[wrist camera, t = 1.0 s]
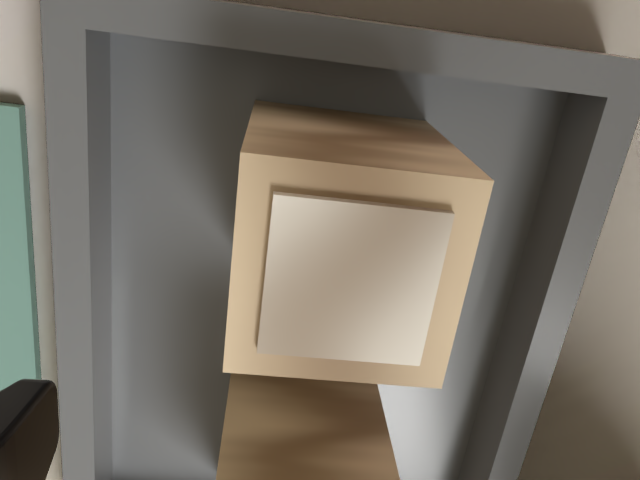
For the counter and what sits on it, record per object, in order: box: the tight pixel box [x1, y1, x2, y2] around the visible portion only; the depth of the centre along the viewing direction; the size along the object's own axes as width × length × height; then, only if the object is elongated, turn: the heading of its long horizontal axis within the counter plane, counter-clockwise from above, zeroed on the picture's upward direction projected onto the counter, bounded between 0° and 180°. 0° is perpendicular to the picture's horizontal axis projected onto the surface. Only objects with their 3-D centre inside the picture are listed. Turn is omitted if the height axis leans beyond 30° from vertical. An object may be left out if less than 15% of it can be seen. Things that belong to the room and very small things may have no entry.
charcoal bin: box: [40, 0, 640, 480], centre depth 19 cm, size 15×19×2 cm
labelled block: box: [223, 100, 494, 389], centre depth 15 cm, size 5×5×6 cm
